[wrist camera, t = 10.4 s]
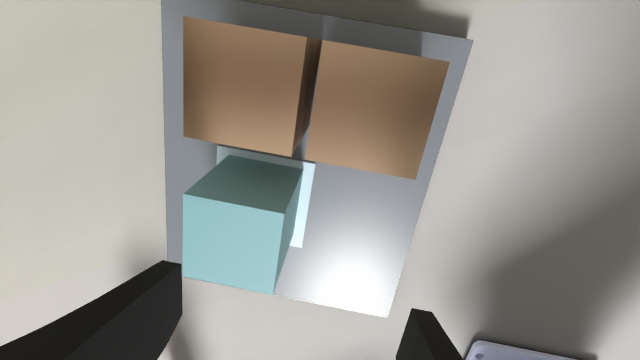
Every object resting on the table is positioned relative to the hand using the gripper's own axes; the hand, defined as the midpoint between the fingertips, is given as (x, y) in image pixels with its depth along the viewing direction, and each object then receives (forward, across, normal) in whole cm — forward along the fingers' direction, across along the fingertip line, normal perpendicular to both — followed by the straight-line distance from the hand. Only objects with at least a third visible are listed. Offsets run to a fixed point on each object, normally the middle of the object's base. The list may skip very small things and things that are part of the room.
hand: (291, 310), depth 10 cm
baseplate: (+9, +2, -1) cm, 9 cm away
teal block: (+8, +3, 0) cm, 9 cm away
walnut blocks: (+8, +1, -6) cm, 10 cm away
